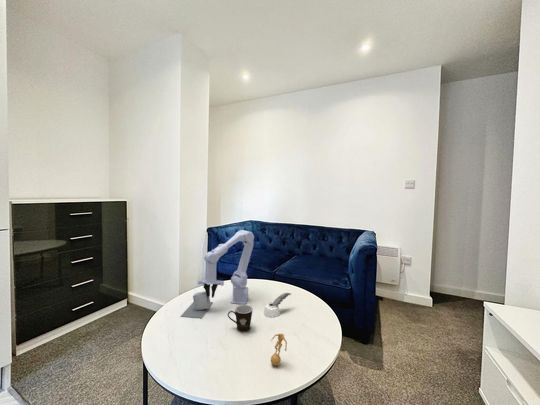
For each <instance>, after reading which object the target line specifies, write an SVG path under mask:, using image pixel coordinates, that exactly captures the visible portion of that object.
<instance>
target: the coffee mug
mask: <svg viewBox="0 0 540 405" xmlns="http://www.w3.org/2000/svg"><path fill="white" fill-rule="evenodd" d="M230 313H233V314H234V316H235V320H234V318H231V316H230ZM252 315H253V307H252V306H251V305H248V304H241V305H240V304H239V305H237V306H236V307H235V308H234V310H230V311H228V313H227V317H228V319H229V320H230V321H232V322H234V323H235V325H236V330H237V331H238V332H240V333H246V332H248V331H250V330H251V324H252Z"/></svg>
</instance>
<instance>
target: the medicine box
mask: <svg viewBox="0 0 540 405" xmlns="http://www.w3.org/2000/svg"><path fill="white" fill-rule="evenodd" d="M192 299H193V302H194V305H195V310H202V309H208V310H209V309H210V308H211V307H210V306H212V305H211V303H210V302H211V300H210V299H211V298H210V296H209V297H207V293H206V291H199V292H195V293H194V294H193V295H192ZM209 307H210V308H209Z"/></svg>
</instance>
